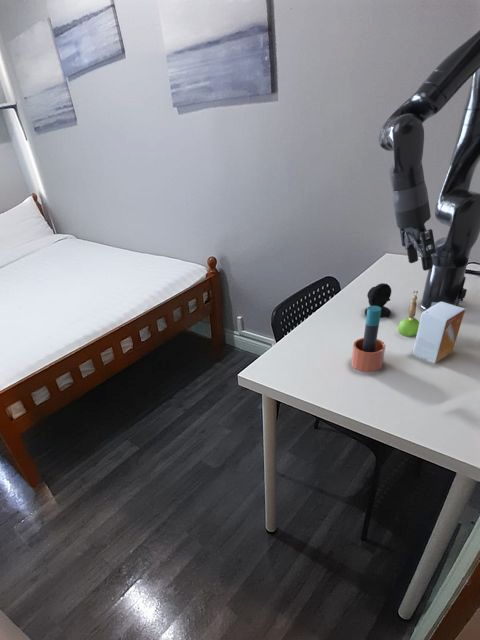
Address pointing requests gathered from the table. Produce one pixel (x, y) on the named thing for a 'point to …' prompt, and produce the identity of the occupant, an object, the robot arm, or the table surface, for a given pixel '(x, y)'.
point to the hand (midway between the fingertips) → (420, 265)
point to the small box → (438, 331)
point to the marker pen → (371, 328)
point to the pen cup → (367, 356)
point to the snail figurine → (410, 320)
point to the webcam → (380, 298)
